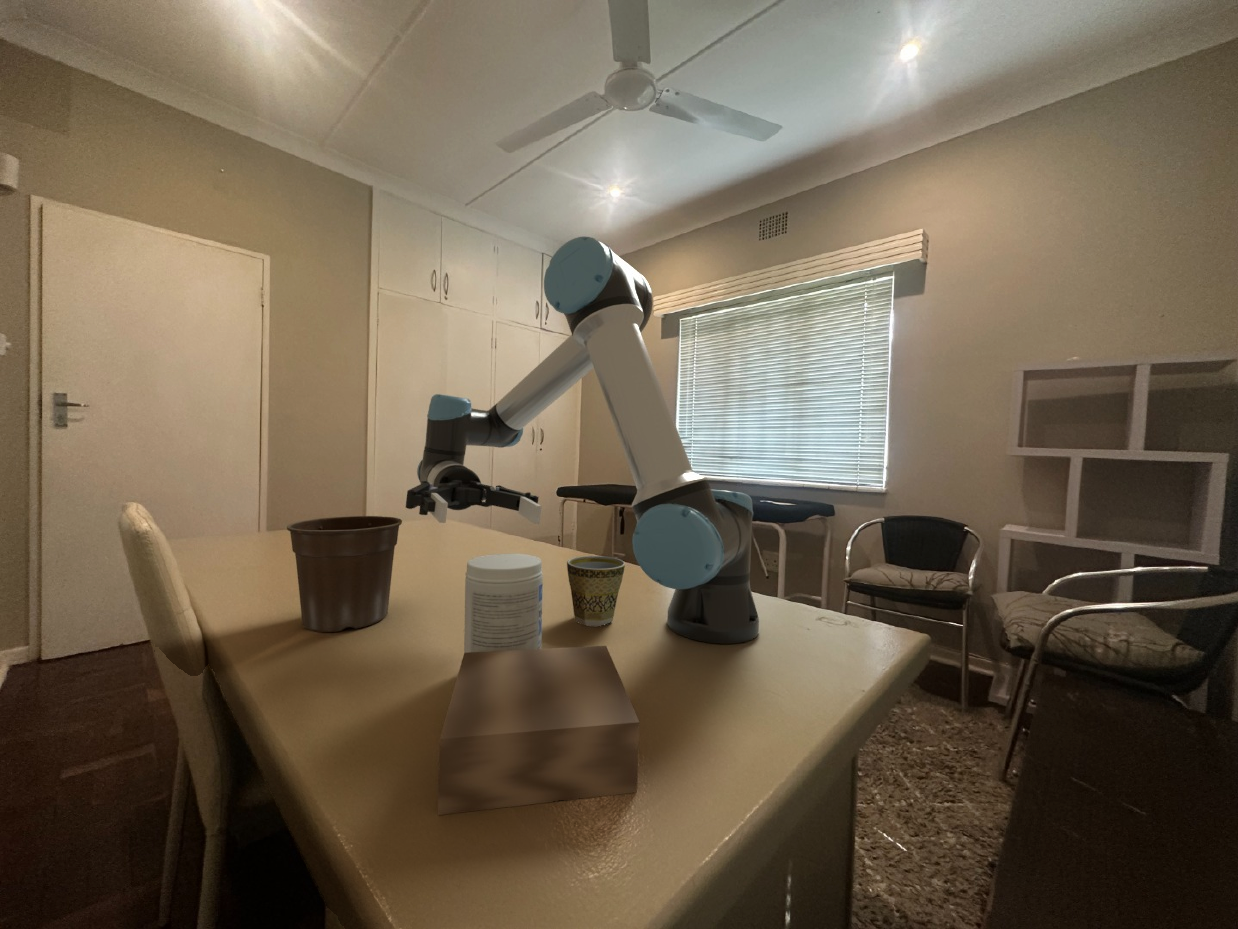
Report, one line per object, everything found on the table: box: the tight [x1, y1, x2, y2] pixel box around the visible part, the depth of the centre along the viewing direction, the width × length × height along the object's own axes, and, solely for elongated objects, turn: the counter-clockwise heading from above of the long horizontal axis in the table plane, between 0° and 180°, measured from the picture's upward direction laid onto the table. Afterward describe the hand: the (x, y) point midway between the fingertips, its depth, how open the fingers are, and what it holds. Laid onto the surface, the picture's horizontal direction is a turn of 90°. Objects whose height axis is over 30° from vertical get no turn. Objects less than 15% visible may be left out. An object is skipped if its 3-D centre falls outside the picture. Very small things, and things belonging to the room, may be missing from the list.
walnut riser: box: [437, 645, 640, 816], centre depth 46 cm, size 16×16×6 cm
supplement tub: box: [463, 553, 544, 654], centre depth 60 cm, size 10×10×15 cm
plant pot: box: [286, 515, 403, 633], centre depth 77 cm, size 16×16×16 cm
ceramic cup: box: [566, 555, 626, 627], centre depth 82 cm, size 13×10×10 cm
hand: (493, 514), depth 66 cm, fingers open, 13 cm apart
